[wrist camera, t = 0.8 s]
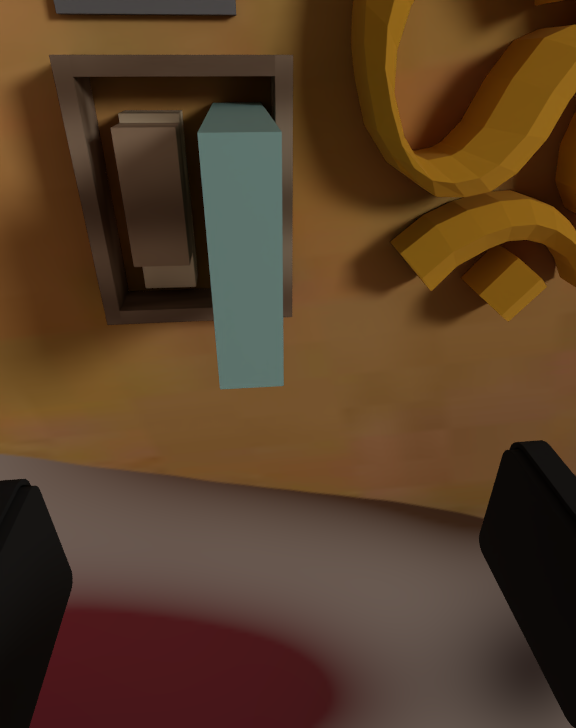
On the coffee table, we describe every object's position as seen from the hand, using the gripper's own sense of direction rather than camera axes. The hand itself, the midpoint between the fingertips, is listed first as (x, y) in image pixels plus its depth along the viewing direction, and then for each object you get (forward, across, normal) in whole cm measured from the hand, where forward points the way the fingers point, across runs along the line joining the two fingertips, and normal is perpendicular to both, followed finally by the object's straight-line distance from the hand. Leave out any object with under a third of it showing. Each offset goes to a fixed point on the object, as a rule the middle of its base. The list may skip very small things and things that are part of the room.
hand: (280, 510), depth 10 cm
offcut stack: (+28, +6, 0) cm, 29 cm away
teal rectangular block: (+28, 0, 0) cm, 28 cm away
